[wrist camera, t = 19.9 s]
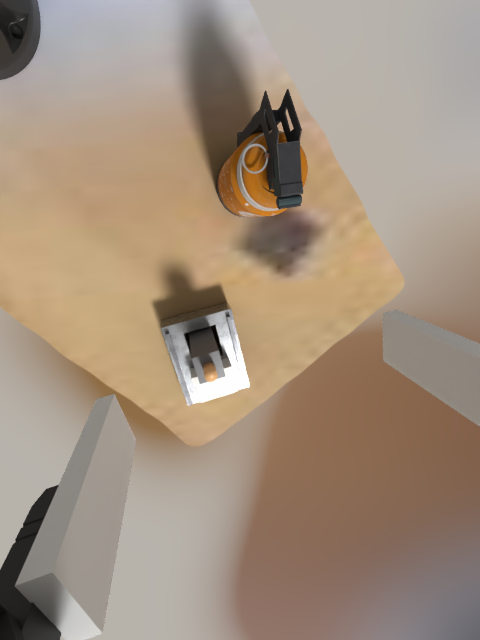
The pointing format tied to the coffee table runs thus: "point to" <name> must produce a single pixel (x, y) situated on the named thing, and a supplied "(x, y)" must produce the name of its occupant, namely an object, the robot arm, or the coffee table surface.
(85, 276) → the coffee table surface
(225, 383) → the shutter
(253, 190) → the canister
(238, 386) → the socket
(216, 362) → the plug
